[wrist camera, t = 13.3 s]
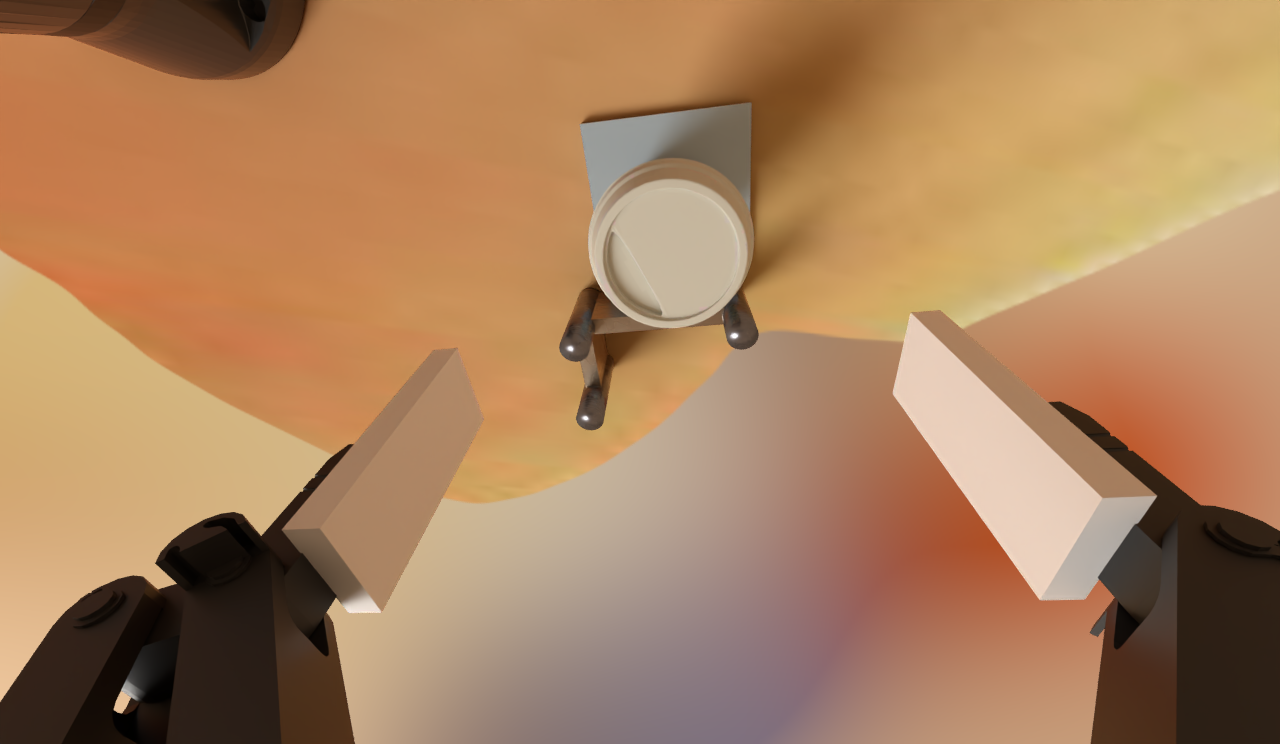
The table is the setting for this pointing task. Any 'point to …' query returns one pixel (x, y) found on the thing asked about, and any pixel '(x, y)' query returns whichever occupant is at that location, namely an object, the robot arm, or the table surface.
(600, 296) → the rail
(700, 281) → the coffee cup
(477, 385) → the table surface
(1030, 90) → the table surface
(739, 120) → the coaster
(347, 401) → the table surface
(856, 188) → the table surface
